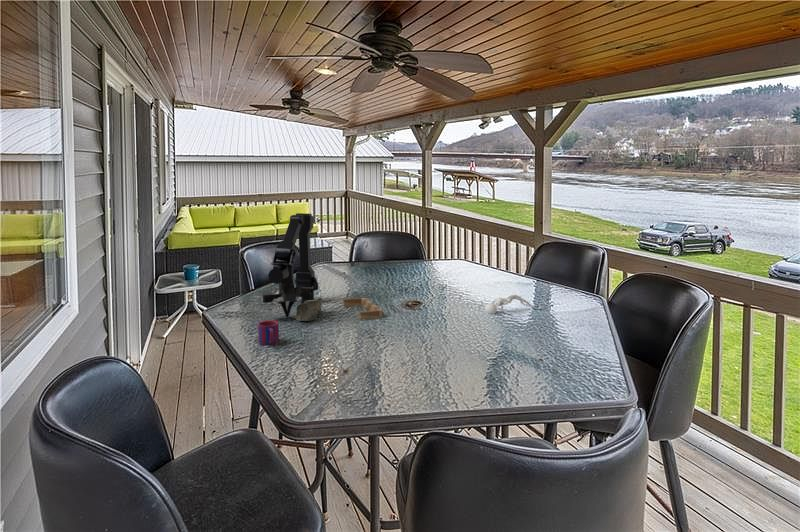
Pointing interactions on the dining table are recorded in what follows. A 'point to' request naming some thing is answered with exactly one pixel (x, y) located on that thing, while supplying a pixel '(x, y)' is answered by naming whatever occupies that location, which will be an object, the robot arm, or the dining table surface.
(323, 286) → the dining table surface
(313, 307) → the rock
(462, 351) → the dining table surface
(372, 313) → the wooden u-shaped handle
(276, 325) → the mug
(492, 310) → the figurine
